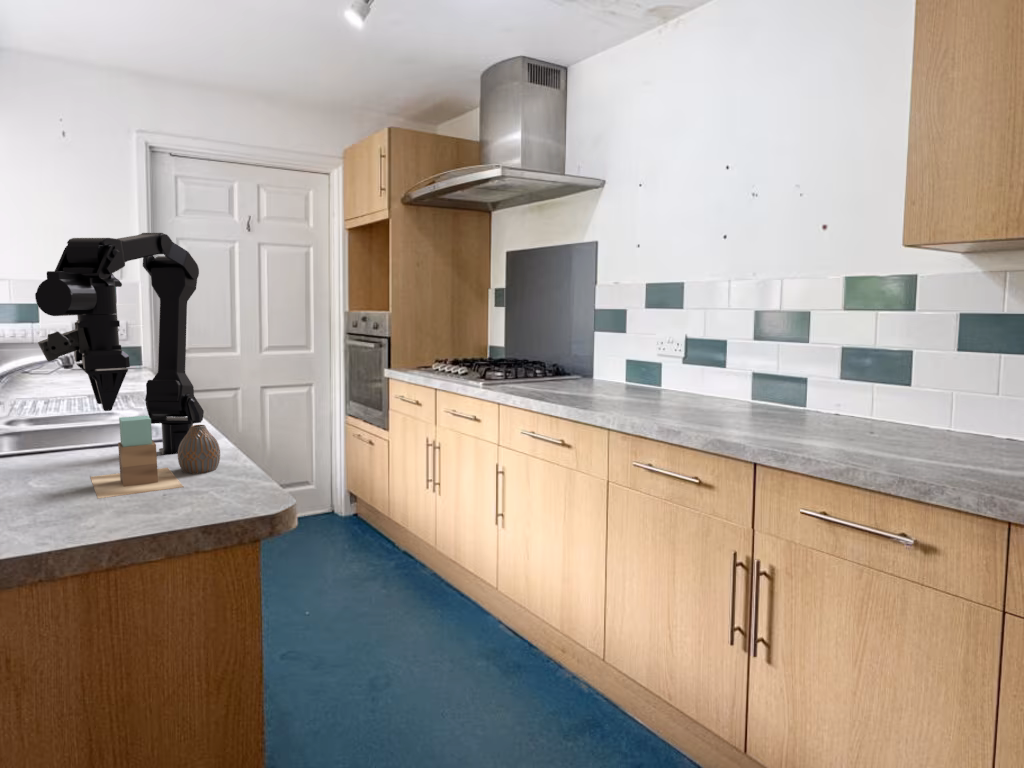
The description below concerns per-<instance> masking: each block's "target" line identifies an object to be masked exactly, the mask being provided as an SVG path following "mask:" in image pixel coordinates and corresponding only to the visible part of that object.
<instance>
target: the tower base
mask: <svg viewBox="0 0 1024 768" xmlns="http://www.w3.org/2000/svg"><path fill="white" fill-rule="evenodd" d="M118 462H119V461H118ZM118 464H119V473H120V480H121V482H122V484H123V486H124V487H125V486H133V485H141V484H149V483H157V482H158V471H157V469H158V462H157V463H156V464H147V465H138V466H129V467H122V465H121V464H120V462H119V463H118Z"/></svg>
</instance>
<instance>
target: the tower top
mask: <svg viewBox="0 0 1024 768" xmlns="http://www.w3.org/2000/svg"><path fill="white" fill-rule="evenodd" d="M117 445H118V460H119V461H118V462H120V464H121V465H122V467H129V466H138V465H147V464H156V463H157V464H158V456H157V444H156V442H155V441H154V440H153V439H152V444H149V445H139V446H129V447H123V446H122V444H121V441H120V442H119V441H118V442H117ZM120 464H119V465H120Z"/></svg>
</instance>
